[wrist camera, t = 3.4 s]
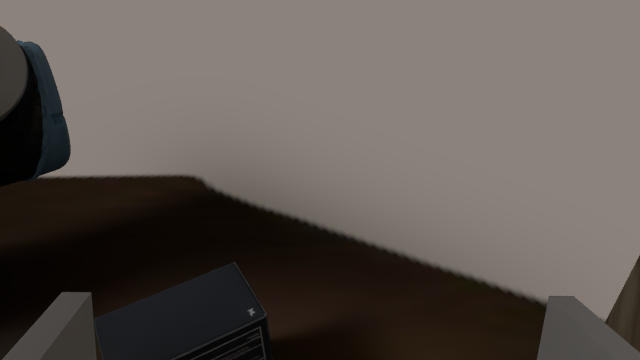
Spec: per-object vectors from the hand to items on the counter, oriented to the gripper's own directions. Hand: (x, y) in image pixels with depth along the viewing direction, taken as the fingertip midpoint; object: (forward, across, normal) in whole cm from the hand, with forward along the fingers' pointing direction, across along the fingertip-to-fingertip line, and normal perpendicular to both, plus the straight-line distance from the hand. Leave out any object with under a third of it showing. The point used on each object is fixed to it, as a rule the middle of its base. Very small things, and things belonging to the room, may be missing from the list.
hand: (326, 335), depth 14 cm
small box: (+22, -7, -20) cm, 30 cm away
